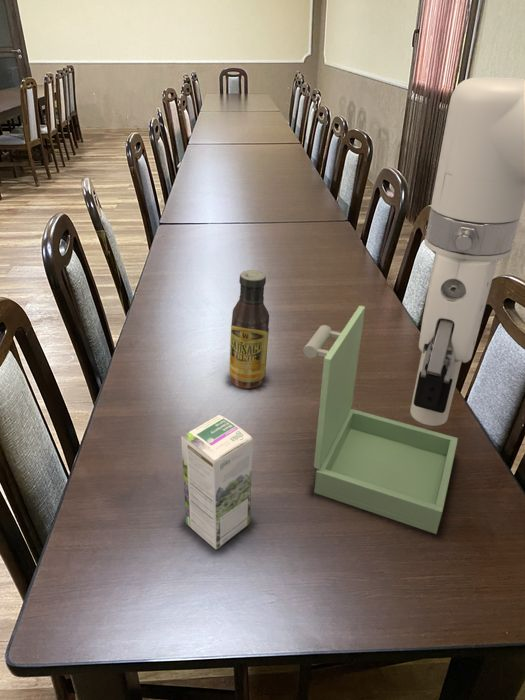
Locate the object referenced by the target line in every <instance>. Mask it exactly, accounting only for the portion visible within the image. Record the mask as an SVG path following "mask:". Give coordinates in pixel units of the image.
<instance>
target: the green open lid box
mask: <svg viewBox="0 0 525 700" xmlns="http://www.w3.org/2000/svg"><path fill="white" fill-rule="evenodd" d="M458 441H459V438H458V437H455V436H452V435H448V434H444V433H441V432H437V431H433V430H429V429H426V428H423V427H419V426H415V425H413V424H409V423H405V422H401V421H398V420H393V419H390V418H386V417H383V416H379V415H375V414H372V413H368V412H366V411H365V412H364V411H362V410H357V409H355V408H351V409H350V411H349V413H348V415H347V417H346V418H345V420H344V422H343V424H342V426H341V428H340V430H339V432H338V434H337V436H336V438H335V440H334V442H333V444H332V446H331V448H330V450H329V452H328V454H327V456H326V457H325V459H324V461H323V463H322V465H321V467H320V469H317V468H316V473H315V483H314V491H313V492H314V494H316V495H319V496H323V497H326V498H329V499H331V500H334V501H338V502H341V503H343V504H346V505H349V506H351V507H355V508H358V509H360V510H363V511H367V512H370V513H372V514H376V515H378V516H381V517H384V518H387V519H391V520H393V521H396V522H398V523H402V524H405V525H408V526H411V527H413V528H416V529H419V530H422V531H426V532H428V533H432V534H434V535H437V533H438V530H439V526H440V523H441V520H442V515H443V510H444V507H445V502H446V497H447V493H448V488H449V484H450V478H451V474H452V469H453V464H454V459H455V455H456V450H457V445H458Z"/></svg>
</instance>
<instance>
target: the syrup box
mask: <svg viewBox="0 0 525 700" xmlns="http://www.w3.org/2000/svg"><path fill="white" fill-rule="evenodd" d="M180 441H181V442H180V443H181V458H182V475H183V476H182V477H183V493H184V511H185V513H184V514H185V524H186V525H187V526H188V527H190V529H192V530H193V531H194V532H195V533H196V534H197V535H198V536H199V537H200V538H202V539H203V540H204V541H205V542H206V543H207V544H208V545H210V546H211V547H212V548H213V549H215V550H216V551H217V550H219V549H221V547H223V546H224V545H226V543H228V542H229V541H230V540H232V539H233V538H234V537H235V536H237V535H238V534H239V533H240V532H242V531H243V530H244V529H245V528H247V527H248V526H249V525H250V524H251V505H252V478H253V449H254V438H253V436H251V435H250V434H249V433H247V431H245V430H244V429H242V428H241V427H240V426H238V425H237V424H236V423H234V422H233V421H231V420H230V419H228V418H226V417H225V416H222V415H221V414H217V415H216V416H214V417H212V418H211V419H209V420H207V421H206V422H204V423H202V424H201V425H198V426H197V427H195V428H194V429H192V430H190V431H188V432H186V433H184V434H183V435H181V436H180Z"/></svg>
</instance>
